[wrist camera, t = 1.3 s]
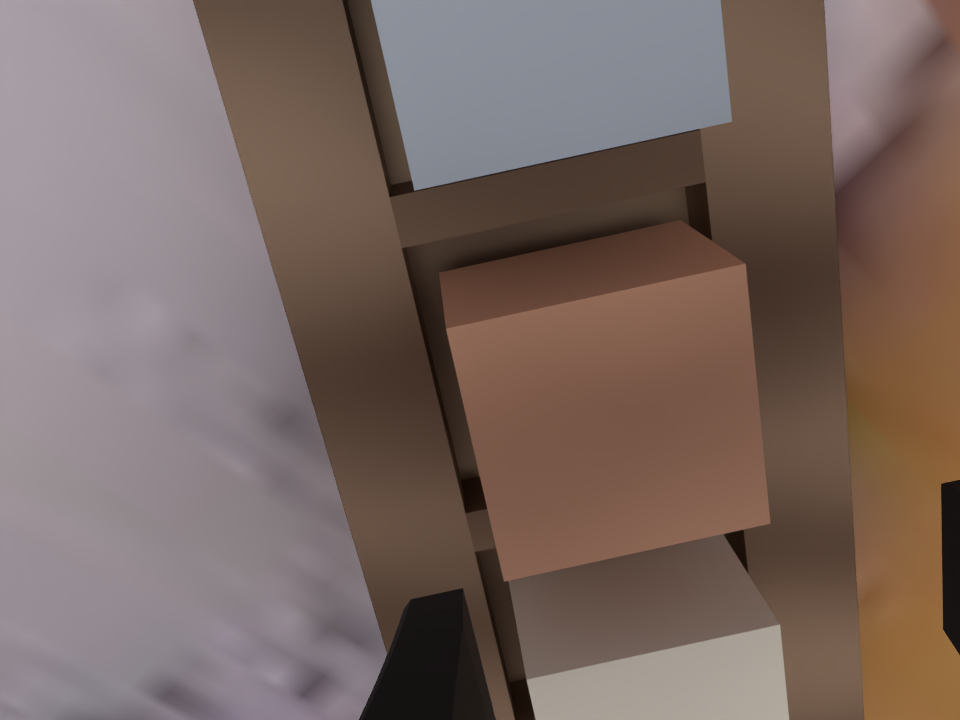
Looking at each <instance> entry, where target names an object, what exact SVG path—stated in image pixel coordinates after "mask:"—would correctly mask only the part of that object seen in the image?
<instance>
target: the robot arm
mask: <svg viewBox="0 0 960 720" xmlns="http://www.w3.org/2000/svg"><path fill="white" fill-rule="evenodd" d="M941 504H942V577H943V630H944V631H945V633H946V635H947V636H948V638H949V639H950V641H951V642H952V644H953V645H954V647H955V648H956V650H957V651H958V653H959V654H960V480H957V481H952V482H948V483H943V484H941ZM359 720H496V718H495V714H494V710H493V706H492V702H491V698H490V694H489V690H488V686H487V682H486V678H485V674H484V670H483V666H482V662H481V658H480V654H479V650H478V646H477V642H476V638H475V634H474V630H473V626H472V622H471V618H470V614H469V610H468V606H467V602H466V598H465V594H464V590H463V588H461V589H456V590H451V591H447V592H442V593H438V594H433V595H428V596H424V597H419V598H415V599H411V600H410V601H409V603H408V604H407V605H406V607H405V608H404V610H403V613H402V616H401V619H400V622H399V625H398V627H397V630H396V633H395V636H394V639H393V641H392V644H391V646H390V649H389V652H388V654H387V657H386V659H385V662H384V664H383V667H382V669H381V671H380V674H379V676H378V679H377V681H376V683H375V686H374V688H373V690H372V692H371V695H370V697H369V699H368V701H367V703H366V706H365V708H364V710H363V712H362V714H361V716H360V719H359Z"/></svg>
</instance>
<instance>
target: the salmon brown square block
mask: <svg viewBox="0 0 960 720" xmlns="http://www.w3.org/2000/svg"><path fill="white" fill-rule="evenodd" d="M439 277H440V285H441V293H442V300H443V308H444V316H445V324H446V331H447V335H448V339H449V344H450V348H451V353H452V357H453V361H454V366H455V370H456V374H457V379H458V383H459V387H460V392H461V396H462V401H463V405H464V409H465V414H466V418H467V422H468V427H469V431H470V435H471V440H472V444H473V449H474V453H475V457H476V462H477V466H478V470H479V475H480V479H481V483H482V488H483V492H484V497H485V501H486V505H487V510H488V514H489V518H490V523H491V527H492V531H493V536H494V540H495V545H496V549H497V553H498V558H499V562H500V566H501V571H502V575H503V579H504V582H505V581H509V580H514V579H518V578H523V577H528V576H532V575H537V574H541V573H546V572H551V571H555V570H560V569H564V568H569V567H574V566H578V565H583V564H587V563H592V562H597V561H601V560H606V559H610V558H615V557H620V556H624V555H629V554H633V553H638V552H642V551H647V550H652V549H656V548H661V547H665V546H670V545H675V544H679V543H684V542H688V541H693V540H698V539H702V538H707V537H711V536H716V535H721V534H725V533H730V532H734V531H739V530H744V529H748V528H753V527H757V526H762V525H767V524H770V513H769V503H768V492H767V482H766V471H765V461H764V450H763V440H762V429H761V419H760V408H759V398H758V387H757V377H756V367H755V356H754V346H753V335H752V325H751V314H750V304H749V293H748V283H747V272H746V264H745V263H744V262H742V261H741V260H739V259H738V258H736V257H735V256H734V255H732V254H731V253H729V252H728V251H726V250H725V249H723V248H722V247H720V246H719V245H717V244H716V243H714V242H713V241H711V240H710V239H708V238H707V237H705V236H704V235H702V234H701V233H699V232H698V231H696V230H695V229H693V228H692V227H690V226H689V225H687V224H686V223H684V222H683V221H681V220H679V221H674V222H669V223H665V224H660V225H656V226H651V227H646V228H642V229H637V230H633V231H628V232H623V233H619V234H614V235H610V236H605V237H600V238H596V239H591V240H587V241H582V242H577V243H573V244H568V245H564V246H559V247H554V248H550V249H545V250H541V251H536V252H531V253H527V254H522V255H518V256H513V257H508V258H504V259H499V260H495V261H490V262H485V263H481V264H476V265H472V266H467V267H462V268H458V269H453V270H449V271H444V272H439Z"/></svg>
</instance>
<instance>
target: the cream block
mask: <svg viewBox="0 0 960 720" xmlns="http://www.w3.org/2000/svg"><path fill="white" fill-rule="evenodd" d="M509 587H510V592H511V598H512V603H513V609H514V614H515V619H516V625H517V630H518V636H519V641H520V647H521V652H522V658H523V663H524V669H525V674H526V680H527V684H528V689H529V693H530V697H531V702H532V706H533V710H534V715H535V719H536V720H789V712H788V702H787V691H786V681H785V670H784V660H783V649H782V639H781V628H780V624H779V622H778V620H777V619H776V617H775V616H774V614H773V612H772V611H771V609H770V608H769V606H768V605H767V603H766V601H765V600H764V598H763V597H762V595H761V593H760V592H759V590H758V589H757V587H756V586H755V584H754V582H753V581H752V579H751V578H750V576H749V574H748V573H747V571H746V570H745V568H744V567H743V565H742V563H741V562H740V560H739V559H738V557H737V555H736V554H735V552H734V551H733V549H732V548H731V546H730V544H729V543H728V541H727V540H726V538H725V536H724V535H723V534H721V535H716V536H711V537H707V538H702V539H698V540H693V541H688V542H684V543H679V544H675V545H670V546H665V547H661V548H656V549H652V550H647V551H642V552H638V553H633V554H629V555H624V556H620V557H615V558H610V559H606V560H601V561H597V562H592V563H587V564H583V565H578V566H574V567H569V568H564V569H560V570H555V571H551V572H546V573H541V574H537V575H532V576H528V577H523V578H518V579H514V580H509Z"/></svg>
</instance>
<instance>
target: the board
mask: <svg viewBox="0 0 960 720" xmlns="http://www.w3.org/2000/svg"><path fill="white" fill-rule="evenodd" d="M193 2H194V5H195V9H196V12H197V15H198V19H199V22H200V25H201V29H202V32H203V36H204V39H205V42H206V46H207V49H208V52H209V56H210V59H211V63H212V66H213V69H214V73H215V76H216V79H217V83H218V86H219V89H220V93H221V96H222V100H223V103H224V106H225V110H226V113H227V116H228V120H229V123H230V126H231V130H232V133H233V137H234V140H235V143H236V147H237V150H238V153H239V157H240V160H241V163H242V167H243V170H244V174H245V177H246V180H247V184H248V187H249V190H250V194H251V197H252V200H253V204H254V207H255V211H256V214H257V217H258V221H259V224H260V227H261V231H262V234H263V238H264V241H265V244H266V248H267V251H268V254H269V258H270V261H271V264H272V268H273V271H274V275H275V278H276V281H277V285H278V288H279V291H280V295H281V298H282V301H283V305H284V308H285V312H286V315H287V318H288V322H289V325H290V328H291V332H292V335H293V338H294V342H295V345H296V349H297V352H298V355H299V359H300V362H301V365H302V369H303V372H304V376H305V379H306V382H307V386H308V389H309V392H310V396H311V399H312V402H313V406H314V409H315V413H316V416H317V419H318V423H319V426H320V429H321V433H322V436H323V439H324V443H325V446H326V450H327V453H328V456H329V460H330V463H331V466H332V470H333V473H334V476H335V480H336V483H337V487H338V490H339V493H340V497H341V500H342V503H343V507H344V510H345V514H346V517H347V520H348V524H349V527H350V530H351V534H352V537H353V540H354V544H355V547H356V551H357V554H358V557H359V561H360V564H361V567H362V571H363V574H364V577H365V581H366V584H367V588H368V591H369V594H370V598H371V601H372V604H373V608H374V611H375V614H376V618H377V621H378V625H379V628H380V631H381V635H382V638H383V641H384V645H385V648H386V651H387V654H388V652H389V649H390V646H391V644H392V641H393V639H394V636H395V633H396V630H397V627H398V625H399V622H400V619H401V616H402V613H403V610H404V608H405V607H406V605H407V604H408V603H409V601H410V600H411V599H415V598H419V597H424V596H428V595H433V594H438V593H442V592H447V591H451V590H456V589H461V588H463V590H464V594H465V598H466V602H467V606H468V610H469V614H470V618H471V622H472V626H473V630H474V634H475V638H476V642H477V646H478V650H479V654H480V658H481V662H482V666H483V670H484V674H485V678H486V682H487V686H488V690H489V694H490V698H491V702H492V706H493V710H494V714H495V718H496V720H536V719H535V715H534V710H533V706H532V702H531V697H530V693H529V689H528V684H527V680H526V674H525V669H524V663H523V658H522V652H521V647H520V641H519V636H518V630H517V625H516V619H515V614H514V609H513V603H512V598H511V592H510V587H509V581H505V582H504V579H503V575H502V571H501V566H500V562H499V558H498V553H497V549H496V545H495V540H494V536H493V531H492V527H491V523H490V518H489V514H488V510H487V505H486V501H485V497H484V492H483V488H482V483H481V479H480V475H479V470H478V466H477V462H476V457H475V453H474V449H473V444H472V440H471V435H470V431H469V427H468V422H467V418H466V414H465V409H464V405H463V401H462V396H461V392H460V387H459V383H458V379H457V374H456V370H455V366H454V361H453V357H452V353H451V348H450V344H449V339H448V335H447V331H446V324H445V316H444V308H443V300H442V293H441V285H440V277H439V272H444V271H449V270H453V269H458V268H462V267H467V266H472V265H476V264H481V263H485V262H490V261H495V260H499V259H504V258H508V257H513V256H518V255H522V254H527V253H531V252H536V251H541V250H545V249H550V248H554V247H559V246H564V245H568V244H573V243H577V242H582V241H587V240H591V239H596V238H600V237H605V236H610V235H614V234H619V233H623V232H628V231H633V230H637V229H642V228H646V227H651V226H656V225H660V224H665V223H669V222H674V221H679V220H681V221H683V222H684V223H686V224H687V225H689V226H690V227H692V228H693V229H695V230H696V231H698V232H699V233H701V234H702V235H704V236H705V237H707V238H708V239H710V240H711V241H713V242H714V243H716V244H717V245H719V246H720V247H722V248H723V249H725V250H726V251H728V252H729V253H731V254H732V255H734V256H735V257H736V258H738V259H739V260H741V261H742V262H744V263H745V264H746V272H747V283H748V293H749V304H750V314H751V325H752V335H753V346H754V356H755V367H756V377H757V387H758V398H759V408H760V419H761V429H762V440H763V450H764V461H765V471H766V482H767V492H768V503H769V513H770V524H767V525H762V526H757V527H753V528H748V529H744V530H739V531H734V532H730V533H725V534H723V535H724V536H725V538H726V540H727V541H728V543H729V544H730V546H731V548H732V549H733V551H734V552H735V554H736V555H737V557H738V559H739V560H740V562H741V563H742V565H743V567H744V568H745V570H746V571H747V573H748V574H749V576H750V578H751V579H752V581H753V582H754V584H755V586H756V587H757V589H758V590H759V592H760V593H761V595H762V597H763V598H764V600H765V601H766V603H767V605H768V606H769V608H770V609H771V611H772V612H773V614H774V616H775V617H776V619H777V620H778V622H779V624H780V628H781V639H782V649H783V660H784V670H785V681H786V691H787V702H788V712H789V720H864V706H863V689H862V671H861V653H860V635H859V617H858V599H857V581H856V563H855V546H854V528H853V510H852V492H851V474H850V456H849V438H848V420H847V403H846V385H845V367H844V349H843V331H842V313H841V295H840V277H839V260H838V242H837V224H836V206H835V188H834V170H833V152H832V134H831V117H830V99H829V81H828V63H827V45H826V27H825V9H824V0H721V11H722V21H723V31H724V42H725V52H726V63H727V73H728V84H729V94H730V105H731V115H732V122H728V123H724V124H719V125H714V126H710V127H705V128H701V129H696V130H691V131H687V132H682V133H678V134H673V135H668V136H664V137H659V138H655V139H650V140H645V141H641V142H636V143H632V144H627V145H622V146H618V147H613V148H609V149H604V150H599V151H595V152H590V153H586V154H581V155H576V156H572V157H567V158H563V159H558V160H553V161H549V162H544V163H540V164H535V165H530V166H526V167H521V168H517V169H512V170H507V171H503V172H498V173H494V174H489V175H484V176H480V177H475V178H471V179H466V180H461V181H457V182H452V183H448V184H443V185H438V186H434V187H429V188H425V189H420V190H415V191H414V187H413V182H412V178H411V174H410V169H409V165H408V161H407V156H406V152H405V147H404V143H403V139H402V134H401V130H400V126H399V121H398V117H397V113H396V108H395V104H394V99H393V95H392V91H391V86H390V82H389V78H388V73H387V69H386V65H385V60H384V56H383V51H382V47H381V43H380V38H379V34H378V30H377V25H376V21H375V17H374V12H373V8H372V3H371V0H193Z"/></svg>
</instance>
